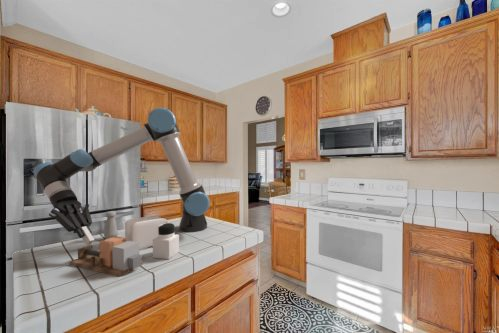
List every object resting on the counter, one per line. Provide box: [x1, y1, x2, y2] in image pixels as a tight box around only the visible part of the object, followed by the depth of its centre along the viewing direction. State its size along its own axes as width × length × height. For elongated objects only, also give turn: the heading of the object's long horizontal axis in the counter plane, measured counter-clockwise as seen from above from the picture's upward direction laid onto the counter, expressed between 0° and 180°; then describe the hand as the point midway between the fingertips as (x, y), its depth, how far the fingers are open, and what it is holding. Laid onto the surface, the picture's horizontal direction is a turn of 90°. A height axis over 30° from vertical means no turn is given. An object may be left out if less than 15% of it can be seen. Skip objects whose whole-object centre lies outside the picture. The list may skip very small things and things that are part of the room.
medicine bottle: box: [152, 222, 180, 260], centre depth 83 cm, size 7×7×12 cm
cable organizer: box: [124, 214, 168, 251], centre depth 94 cm, size 15×11×12 cm
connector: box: [113, 241, 142, 271], centre depth 71 cm, size 7×6×7 cm
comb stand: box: [69, 244, 144, 277], centre depth 75 cm, size 24×9×5 cm, turn 70°
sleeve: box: [98, 235, 126, 266], centre depth 74 cm, size 5×6×8 cm
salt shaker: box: [103, 210, 119, 240], centre depth 102 cm, size 6×6×13 cm
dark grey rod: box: [84, 249, 100, 257], centre depth 76 cm, size 19×2×2 cm, turn 70°
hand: (90, 242), depth 78 cm, fingers closed
